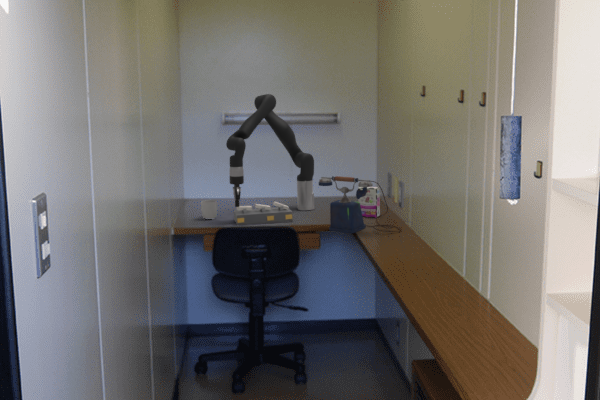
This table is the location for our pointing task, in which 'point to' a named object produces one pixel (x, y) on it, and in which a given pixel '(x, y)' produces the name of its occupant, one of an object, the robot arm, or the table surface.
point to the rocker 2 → (280, 205)
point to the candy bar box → (370, 202)
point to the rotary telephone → (349, 207)
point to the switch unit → (262, 216)
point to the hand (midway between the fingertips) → (237, 206)
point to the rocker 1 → (244, 207)
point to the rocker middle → (262, 206)
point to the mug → (209, 208)
